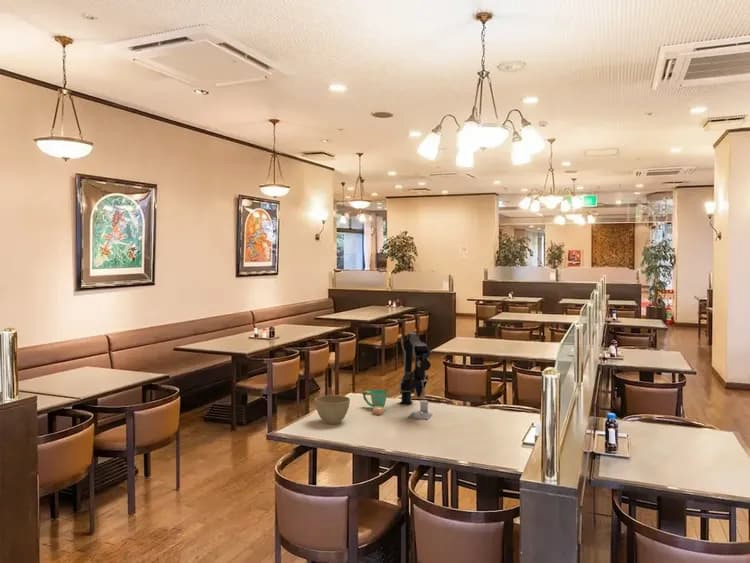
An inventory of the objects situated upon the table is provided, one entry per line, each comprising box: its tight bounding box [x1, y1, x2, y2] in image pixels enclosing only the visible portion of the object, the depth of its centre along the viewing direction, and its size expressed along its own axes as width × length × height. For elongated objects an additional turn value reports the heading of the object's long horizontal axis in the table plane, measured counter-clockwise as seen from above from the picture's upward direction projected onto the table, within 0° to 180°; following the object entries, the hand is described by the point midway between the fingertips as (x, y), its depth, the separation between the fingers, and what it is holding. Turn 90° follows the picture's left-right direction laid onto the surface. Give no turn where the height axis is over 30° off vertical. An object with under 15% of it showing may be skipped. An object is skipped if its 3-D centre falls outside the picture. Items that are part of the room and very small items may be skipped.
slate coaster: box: [407, 411, 433, 421], centre depth 307 cm, size 11×11×1 cm
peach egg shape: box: [372, 406, 385, 416], centre depth 312 cm, size 6×6×4 cm
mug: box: [362, 389, 388, 408], centre depth 323 cm, size 15×10×10 cm
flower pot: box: [314, 394, 351, 425], centre depth 295 cm, size 18×18×12 cm
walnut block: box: [413, 387, 426, 400], centre depth 307 cm, size 5×5×5 cm
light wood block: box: [419, 399, 429, 413], centre depth 317 cm, size 4×4×6 cm
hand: (419, 395), depth 307 cm, fingers closed on walnut block, 5 cm apart
